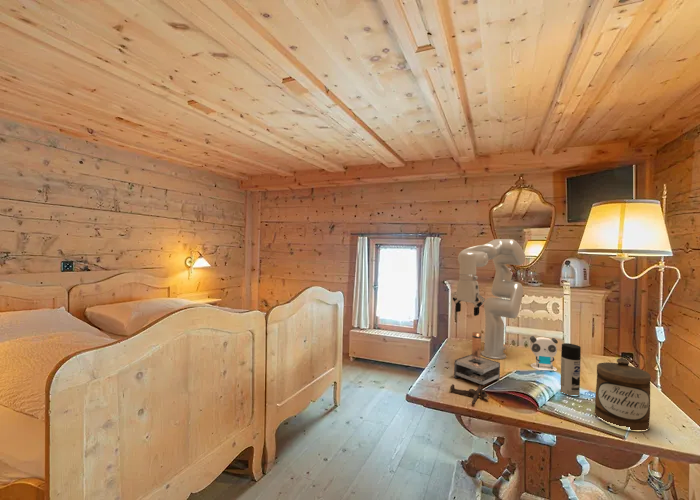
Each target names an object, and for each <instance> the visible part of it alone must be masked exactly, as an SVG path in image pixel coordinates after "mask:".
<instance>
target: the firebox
mask: <svg viewBox="0 0 700 500" xmlns="http://www.w3.org/2000/svg"><path fill="white" fill-rule="evenodd" d="M453 371H454V372H453V378H454V379H458V378H462V379H466V380H468V381H471V382H473V383H475V384H476V383H477V384H479V385H481V386H485V385H486V384H489V383H490V382H493V381H496V380H499V379H501V378H500V377H501V376H500V375H501V374H500V372H501V362H500V361H495V360H492V359H490V358H489V359H488V358H487V357H482V356H480V357H479V356H476V355H472V353H471V354H468V355H466V356H463V357H459V358H457V359H454V366H453ZM499 381H500V380H499Z"/></svg>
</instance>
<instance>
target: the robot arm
mask: <svg viewBox="0 0 700 500" xmlns="http://www.w3.org/2000/svg"><path fill="white" fill-rule="evenodd" d="M490 260H492V262H493V266H494V270H495V275H494V277H493V281H492V284H491V294H492V295H493V296H494V297H488V298H486V299H485V298H484V297H483V296H482V295H481V294H480V286H479V282H478V281H477V280H479V276H477V267H478V268H483V267H485V266H486V265H488V263H489V261H490ZM525 261H526V253H525V250H524V249H523V247H521V245H520V244H519V242H518V241H516V240H515V239H513V238H495V239H492V240H491V241H488V242H487V243H484V244H479V245H475V246H470V247H467V248H464V249H463V250H461V251H460V252H459V253H458V256H457V262H458V264H459V279H458V281H457V285H456V291H455V292H453V293H451V298H452V301H453V302H454V304H455V312H456V313H459V312H461V311H462V304H461V302H465V303H470V304H473V306H474V307H473V316H475V317H476V316H479V315H480V307H482V305H483V310H484V316H485V317H484V318H485V319H484V346H483V347H484V348H483V350H481V355H482V356H483V357H484V358H487V359H488V358H489V359H495V360H504V359H506V358H507V354H506V353H505V352H504V351H505V350H506V346H505V345H504V344H505V343H504V340H505V339H504V338H505V322H504V321H503V319H502V317H503V318H508V319H515V318H517V317H518V315H519V313H520V309H521V304H522V300H523V296H524V287H523V285H522V283H520V282H518V281H513V280H512V279H513V274H512V271H511V269H510V268H509V266H507V265H510V266H511V265H515V266H520V265H523V264H524V263H525Z"/></svg>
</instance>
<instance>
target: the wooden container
mask: <svg viewBox="0 0 700 500" xmlns="http://www.w3.org/2000/svg"><path fill="white" fill-rule="evenodd" d="M651 380H652V379H651V374H650V373H649V372H648V371H646V370H643V369H642V368H639V367H635V366H633V365H630V361H629V360H628V359H627V358H624V357H619V358H617V359H616V362H605V361H604V362H600V363H598V364H596V385H595V397H594V398H595V399H594V400H595V401H594V403H595V405H594V414H595V413H596V415H597V416H598V417H600V418H602V419H603V420H605V421H607V422H610V423H613V424H616V425H619V426H626V427H630V429H631V430H646V429H648V428H649V429H650V417H651ZM596 415H595V416H596Z"/></svg>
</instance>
